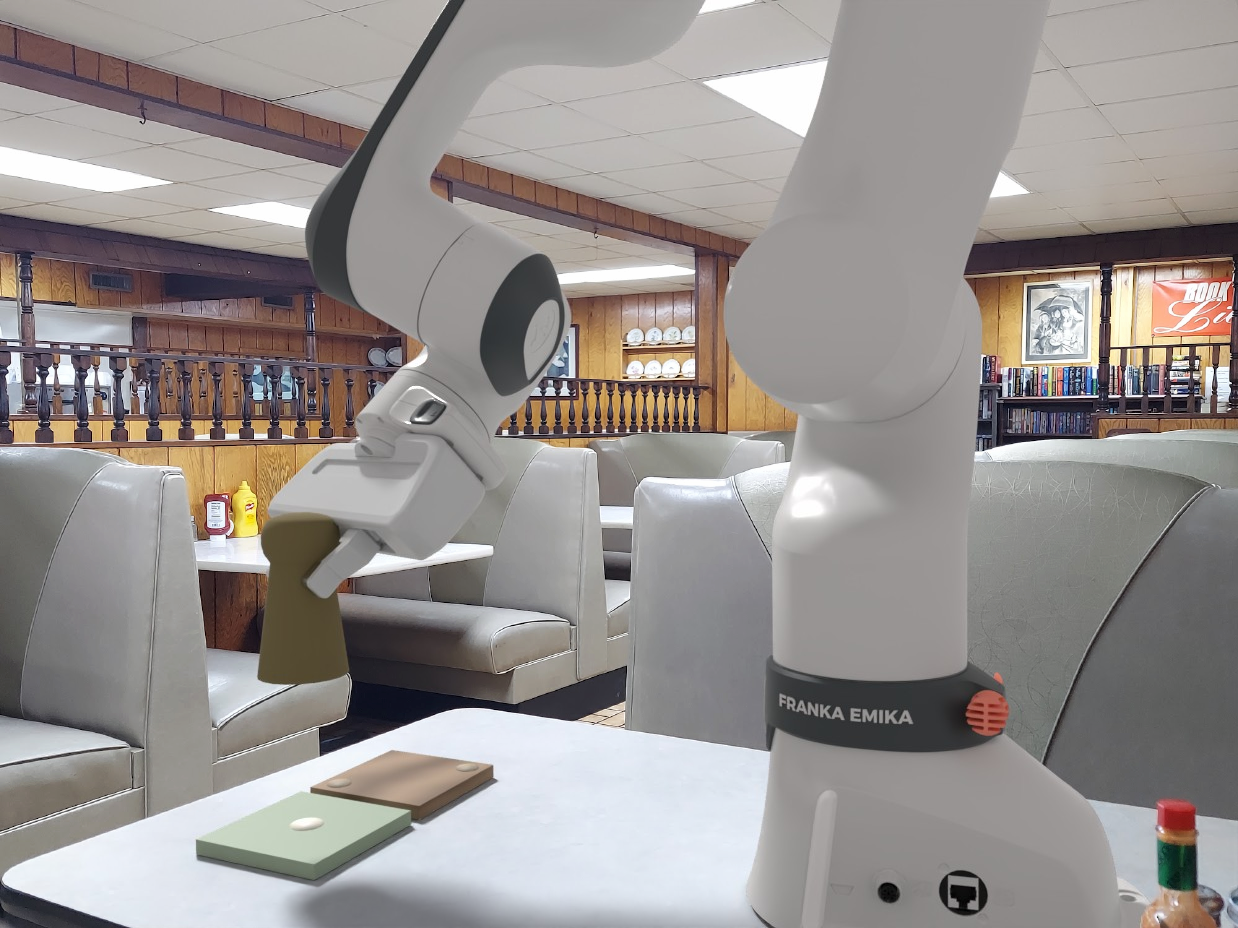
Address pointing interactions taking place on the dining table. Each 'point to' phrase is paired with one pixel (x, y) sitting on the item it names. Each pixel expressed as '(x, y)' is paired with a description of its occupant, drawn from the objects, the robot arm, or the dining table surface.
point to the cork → (299, 604)
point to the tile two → (407, 781)
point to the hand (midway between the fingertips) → (293, 587)
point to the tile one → (304, 834)
